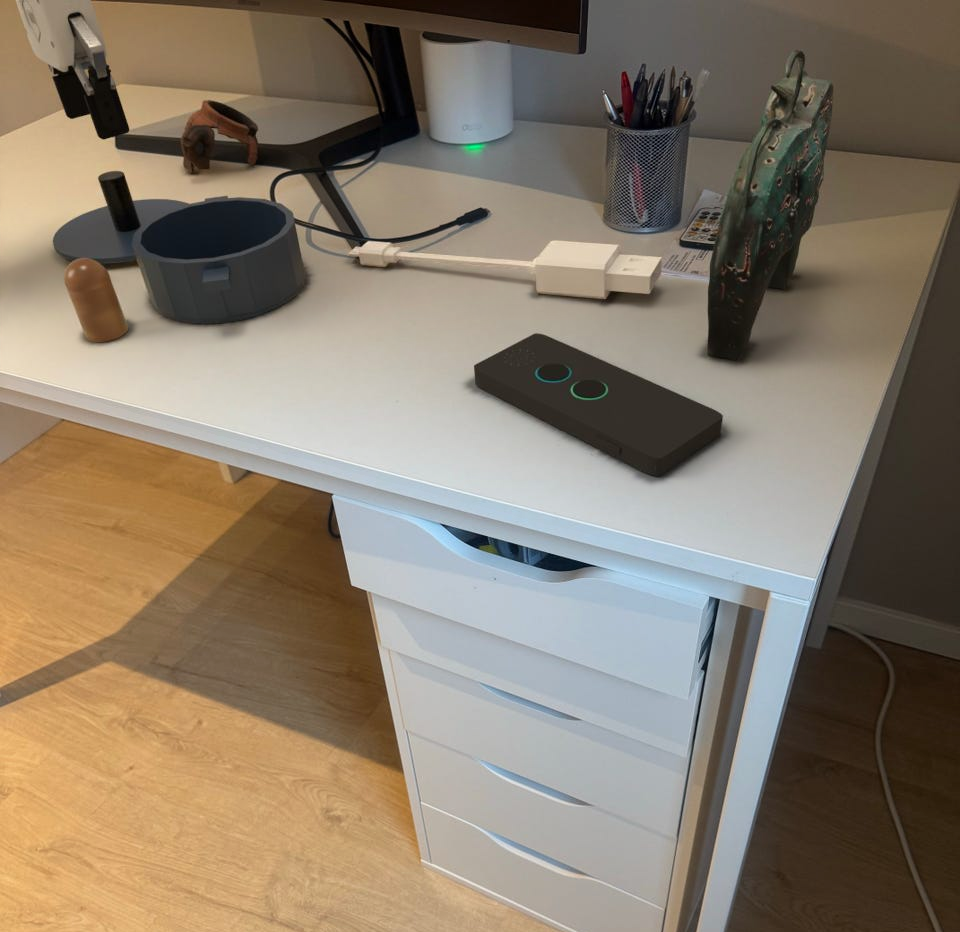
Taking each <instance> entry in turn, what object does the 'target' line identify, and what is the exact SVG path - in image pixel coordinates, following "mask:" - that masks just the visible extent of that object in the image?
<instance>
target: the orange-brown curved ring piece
mask: <svg viewBox="0 0 960 932" xmlns="http://www.w3.org/2000/svg"><path fill="white" fill-rule="evenodd" d="M214 129H216V130H217V134H218V135H221V136H225V137H227V138H229V139H232V140H233V139H235V140H237V141H238V142H239V143H242V144H246V145H247V151H248V152H247V160H246V161H247V163H248V164H249V165H250V166H254V165H255V164H256V161H257V159H258V153H257V147H258V145H260V144H259V140H258V137H257V133H258V131H259V126H258V125H257V123H256V122H254V121H253V119H251V117H249V116H247V115H246V114H244V113H242V112H241V111H239V110H237V109H235V108H234V107H232V106H229V105H227V104H225V103H223V102H219V101H216V100H210V99H206V100H202V103H201V108H200V109H198V110H196V111H195V112H193V113H192V114H191V115H190V116H189V117H188V119H187V122H186V124H185V127H184V129H183V130H184V131H183V134H182V135H181V137H180V149H181V151H182V153H183V161H182V164H183V168H184V169H185V170H187V171H188V173H190V174H192V175H194V174H195V168H196V169H197V170H199V171H204V170H210V168H211V153H212V152H213V147H214V145H215V141H216V139H215V135H216V133H215V130H214ZM256 154H257V156H256Z"/></svg>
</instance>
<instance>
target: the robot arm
mask: <svg viewBox="0 0 960 932" xmlns="http://www.w3.org/2000/svg"><path fill="white" fill-rule="evenodd" d="M15 3H16V6H17V9H18V12H19V15H20V18H21V21H22V24H23V27H24V30H25V33H26V37H27V38H28V41H29V44H30V48H31V51H32V52H33V55H35V56H36V58H38V59H39V60H40V61H42V62H44V63H45V64H47V66H48V69H49V71H50V73H51V74H52V76H51V77H52V80H53V83H54V86H55V88H56V91H57V94H58V98H59V100H60V102H61V105H62V108H63V110H64V113H65V116H66V117H67V118H68V119H70V120H73V119H74V120H75V119H77V118H81V117H84V116H89V115H90V118H91V121H92V123H93V126H94V127H93V128H94V129H95V132H96V135H97V137H98V138H99V139H101V140H107V139H110V138H115V137H119V136H123V135H125V134H128V133H129V132H130V126H129V123H128V119H127V117H126V114H125V111H124V108H123V104H122V101H121V98H120V95H119V92H118V88H117V85H116V81H115V80H114V79H115V78H113V75H112V70H111V69H110V65H109V64H108V63H107V56H108V52H107V49H106V48H107V47H106V44H105V40H104V37H103V34H102V30H101V27H100V24H99V21H98V18H97V15H96V12H95V9H94V6H93V3H92V0H15ZM85 70H87V73H86V71H85ZM87 74H88V75H87Z"/></svg>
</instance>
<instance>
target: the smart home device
mask: <svg viewBox="0 0 960 932" xmlns="http://www.w3.org/2000/svg"><path fill="white" fill-rule="evenodd" d="M473 372H474V383H475V385H476V386H477V387H478V388H480V389H481V390H484V391H485V392H487V393H489V394H491V395H493V396H495V397H497V398H498V399H501V400H502V401H505V402H507V403H509V404H510V405H512V406H514V407H516V408H518V409H520V410H522V411H524V412H526V413H528V414H530V415H531V416H533V417H536V418H538V419H540V420H542V421H543V422H545V423H547V424H549V425H552V426H553V427H555V428H557V429H560V430H561V431H563V432H564V433H567V434H569V435H570V436H573V437H574V438H576V439H579V440H580V441H583V442H584V443H586V444H588V445H590V446H592V447H594V448H596V449H597V450H600V451H602V452H604V453H605V454H608V455H610V456H612V457H613V458H616V459H617V460H619V461H621V462H623V463H625V464H627V465H629V466H631V467H633V468H635V469H637V470H639V471H641V472H643V473H644V474H647V475H651V476H654V477H661V476H662V475H664V474H665V473H667V472H668V471H669V470H671V469H673V468H674V467H676V466H677V465H679V464H680V463H682V462H683V461H684V460H686V459H687V458H688V457H690V456H691V455H693V454H694V453H696V452H697V451H699V450H701V449H702V448H704V447H705V446H706V445H708V444H709V443H711V442H712V441H714V440H715V439H717V438H719V436H721V431H722V426H723V420H724V419H723V418H724V415H723V414H722V413H721V412H719V411H718V410H716V409H713V408H712V407H709V406H708V405H705V404H702V403H700V402H698V401H697V400H693V399H691V398H689V397H686V396H684V395H682V394H680V393H678V392H675V391H673V390H671V389H669V388H666V387H664V386H662V385H660V384H657V383H655V382H653V381H650V380H648V379H646V378H644V377H642V376H639V375H637V374H635V373H632V372H630V371H629V370H626V369H623V368H622V367H619V366H617V365H614V364H612V363H610V362H608V361H606V360H603V359H601V358H599V357H597V356H594V355H591V354H590V353H588V352H585V351H582V350H581V349H578V348H576V347H574V346H572V345H569V344H567V343H565V342H563V341H561V340H558V339H556V338H553V337H552V336H549V335H546V334H543V333H538V332H537V333H533V334H531V335H529V336H527V337H525V338H523V339H521V340H520V341H517V342H516V343H514V344H512V345H509V346H508V347H506V348H504V349H502V350H500V351H498V352H496V353H494V354H492V355H491V356H489V357H487V358H485V359H483V360H481V361H479V362H477V363H475V364H474V365H473Z"/></svg>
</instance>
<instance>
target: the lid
mask: <svg viewBox="0 0 960 932" xmlns="http://www.w3.org/2000/svg"><path fill="white" fill-rule="evenodd" d="M97 180H98V183H99V185H100V188H101V191H102V194H103V197H104V200H105V203H106V205H105V206H102V207H99V208H98V207H97V208H95V209H92V210H90V211H87V212H85V213H82V214H79V215H78V216H76V217H74V218H72V219H71V220H69V221H66V222H65V223H64V224H63V225H62V226H60V227H59V228H58V229H57V230H56V232H55V233H54V235H53V237H52V245H53V248H54V250H55V253H57V254H58V255H59V256H60V257H62V258H64V259H66V260H69V261H70V262H72V261H74V260H76V259H79V258H89V259H93V260H95V261H97V262H99V263H100V264H101V265H106V264H119V263H127V262H133V261H137V259H136V256H135V253H134V250H133V247H132V242H133V236H134V233H135V232H136V231H137V230H138V229H139V228H140V227H141V226H142V225H143V224H144V223H146V222H147V221H149V220H151V219H153V218H155V217H157V216H158V215H160V214H162V213H164V212H166V211H169V210H172V209H175V208H178V207H181V206H184V205H187V204H190V203H188V202H185V201H181V200H176V199H169V198H164V199H163V198H147V199H145V198H144V199H136V200H134V199H133V197H132V193H131V191H130V187H129V185H128V184H129V183H128V181H127V178H126V175H125V172H123V171H120V170H111V171H106V172H103V173H101V174H99V175H98V176H97Z"/></svg>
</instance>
